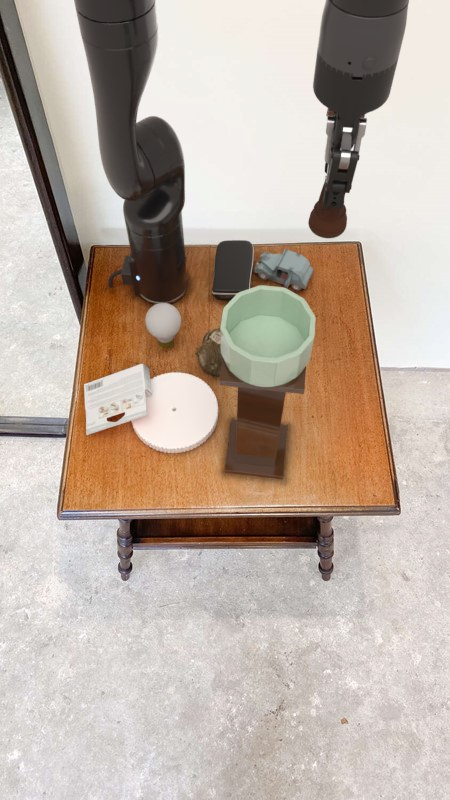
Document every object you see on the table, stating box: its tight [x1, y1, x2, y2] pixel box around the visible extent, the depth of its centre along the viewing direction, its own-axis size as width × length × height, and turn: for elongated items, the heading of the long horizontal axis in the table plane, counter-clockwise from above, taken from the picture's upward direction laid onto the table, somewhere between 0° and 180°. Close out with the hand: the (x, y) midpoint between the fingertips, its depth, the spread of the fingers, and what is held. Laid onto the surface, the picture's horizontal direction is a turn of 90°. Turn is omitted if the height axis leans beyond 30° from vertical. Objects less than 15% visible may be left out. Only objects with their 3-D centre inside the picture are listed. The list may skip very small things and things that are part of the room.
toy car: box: [253, 248, 315, 292], centre depth 117 cm, size 6×10×5 cm, turn 67°
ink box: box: [83, 363, 152, 436], centre depth 103 cm, size 2×11×10 cm
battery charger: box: [211, 239, 255, 301], centre depth 118 cm, size 7×4×11 cm
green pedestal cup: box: [218, 284, 317, 480], centre depth 88 cm, size 11×11×34 cm
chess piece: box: [307, 180, 348, 239], centre depth 75 cm, size 5×5×10 cm
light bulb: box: [144, 303, 182, 350], centre depth 108 cm, size 6×6×10 cm
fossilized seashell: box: [194, 327, 223, 377], centre depth 109 cm, size 8×7×10 cm
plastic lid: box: [130, 371, 219, 454], centre depth 104 cm, size 14×14×2 cm
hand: (332, 189), depth 74 cm, fingers closed on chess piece, 5 cm apart
